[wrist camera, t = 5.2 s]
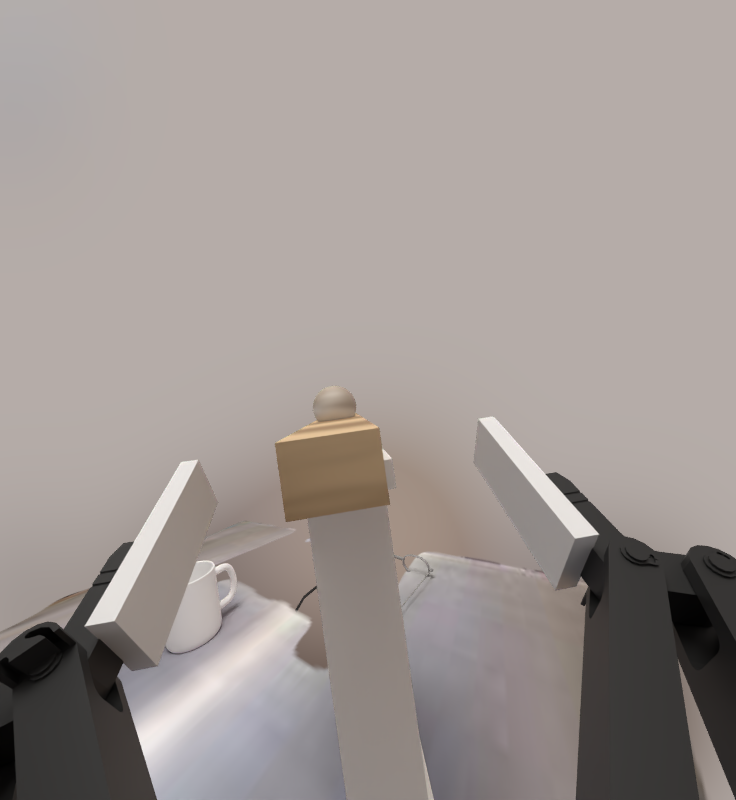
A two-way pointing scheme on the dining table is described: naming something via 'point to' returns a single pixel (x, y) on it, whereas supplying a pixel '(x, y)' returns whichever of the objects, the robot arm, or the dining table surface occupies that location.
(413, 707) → the pedestal
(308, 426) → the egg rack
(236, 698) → the dining table surface
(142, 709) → the dining table surface
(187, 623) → the cup
